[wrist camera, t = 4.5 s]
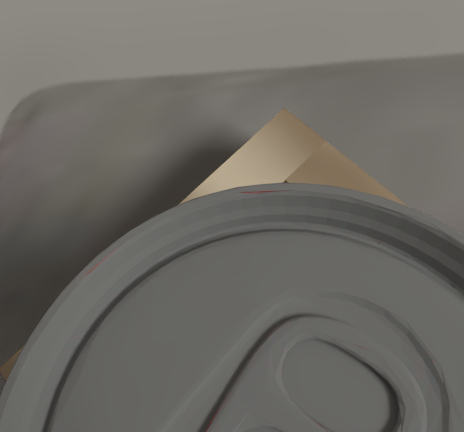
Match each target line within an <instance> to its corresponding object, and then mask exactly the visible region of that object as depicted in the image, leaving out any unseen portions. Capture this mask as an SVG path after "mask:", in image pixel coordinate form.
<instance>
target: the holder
mask: <svg viewBox="0 0 464 432" xmlns="http://www.w3.org/2000/svg"><path fill="white" fill-rule="evenodd" d="M271 183H308V184H320V185H332V186H337V187H342V188H347V189H352V190H357V191H361V192H365V193H369V194H373V195H377V196H381V197H384V198H387V199H389V200H392V201H395V202H397V203H400V204H403V205H405V206H407V205H406V204H405V203H403V202H402V201H401V200H400V199H398V198H397V197H396V196H395V195H393V194H392V193H391V192H390V191H388V190H387V189H386V188H385V187H383V186H382V185H381V184H380V183H378V182H377V181H376V180H374V179H373V178H372V177H371V176H369V175H368V174H367V173H366V172H364V171H363V170H362V169H361V168H359V167H358V166H357V165H356V164H354V163H353V162H352V161H351V160H349V159H348V158H347V157H346V156H344V155H343V154H342V153H341V152H339V151H338V150H337V149H336V148H334V147H333V146H332V145H331V144H329V143H328V142H327V141H326V140H324V139H323V138H322V137H321V136H319V135H318V134H317V133H316V132H314V131H313V130H312V129H311V128H309V127H308V126H307V125H306V124H304V123H303V122H302V121H301V120H299V119H298V118H297V117H296V116H294V115H293V114H292V113H291V112H289V111H288V110H287V109H286V108H284V109H283V110H281V111H280V112H279V113H278V114H277V115H276V116H275V117H274V118H273V119H272V120H270V121H269V122H268V123H267V124H266V125H265V126H264V127H263V128H262V129H261V130H260V131H258V132H257V133H256V134H255V135H254V136H253V137H252V138H251V139H250V140H249V141H247V142H246V143H245V144H244V145H243V146H242V147H241V148H240V149H239V150H238V151H237V152H235V153H234V154H233V155H232V156H231V157H230V158H229V159H228V160H227V161H226V162H224V163H223V164H222V165H221V166H220V167H219V168H218V169H217V170H216V171H215V172H213V173H212V174H211V175H210V176H209V177H208V178H207V179H206V180H205V181H204V182H203V183H201V184H200V185H199V186H198V187H197V188H196V189H195V190H194V191H193V192H192V193H190V194H189V195H188V196H187V197H186V198H185V199H184V200H183V201H182V202H181V203H180V204H182V203H184V202H187V201H189V200H191V199H194V198H197V197H201V196H204V195H208V194H211V193H215V192H219V191H223V190H227V189H231V188H235V187H242V186H250V185H259V184H271ZM178 205H179V204H178ZM23 347H24V346H23ZM23 347H22V348H21V349H19V350H18V351H17V352H16V353H15V354H14V355H13V356H12V357H11V358H10V359H9V360H7V361H6V362H5V363H4V364H3V365H2V366H1V367H0V373H1V374H2V376H3V377H4V379H5V381H7V379H8V377H9V375H10V372H11V370H12V368H13V366H14V364H15V362H16V360H17V358H18V356H19V354H20V352H21V351H22V349H23Z"/></svg>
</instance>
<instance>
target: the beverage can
mask: <svg viewBox="0 0 464 432" xmlns="http://www.w3.org/2000/svg"><path fill="white" fill-rule="evenodd" d="M0 432H464V234H462V233H461V232H459V231H457V230H456V229H454V228H452V227H450V226H448V225H447V224H445V223H443V222H441V221H439V220H437V219H436V218H434V217H432V216H430V215H427V214H425V213H423V212H420V211H418V210H415V209H413V208H410V207H408V206H405V205H403V204H400V203H397V202H395V201H392V200H389V199H387V198H384V197H381V196H377V195H373V194H369V193H365V192H361V191H357V190H352V189H347V188H342V187H337V186H332V185H320V184H308V183H271V184H259V185H250V186H242V187H235V188H231V189H227V190H223V191H219V192H215V193H211V194H208V195H204V196H201V197H197V198H194V199H191V200H189V201H187V202H184V203H182V204H179V205H177V206H175V207H172V208H170V209H168V210H166V211H164V212H162V213H160V214H157V215H155V216H153V217H151V218H149V219H148V220H146V221H145V222H143V223H141V224H140V225H138V226H137V227H135V228H134V229H132V230H130V231H129V232H127V233H126V234H124V235H123V236H122V237H120V238H119V239H117V240H116V241H114V242H113V243H111V244H110V245H109V246H108V247H107V248H105V249H104V250H103V251H102V252H101V253H100V254H98V255H97V256H96V257H95V258H94V259H93V260H92V261H91V262H90V263H89V264H87V265H86V266H85V267H84V268H83V269H82V270H81V271H80V272H79V273H78V274H77V275H76V276H75V277H74V278H73V279H72V280H71V282H70V283H69V284H68V285H67V286H66V287H65V288H64V290H63V291H62V292H61V293H60V294H59V296H58V297H57V298H56V299H55V301H54V302H53V303H52V305H51V306H50V307H49V308H48V310H47V311H46V312H45V313H44V315H43V317H42V318H41V320H40V321H39V323H38V324H37V326H36V327H35V329H34V330H33V332H32V333H31V335H30V337H29V338H28V340H27V342H26V344H25V345H24V347H23V349H22V351H21V352H20V354H19V356H18V358H17V360H16V362H15V364H14V366H13V368H12V370H11V372H10V375H9V377H8V379H7V381H6V383H5V385H4V388H3V390H2V393H1V395H0Z"/></svg>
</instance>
